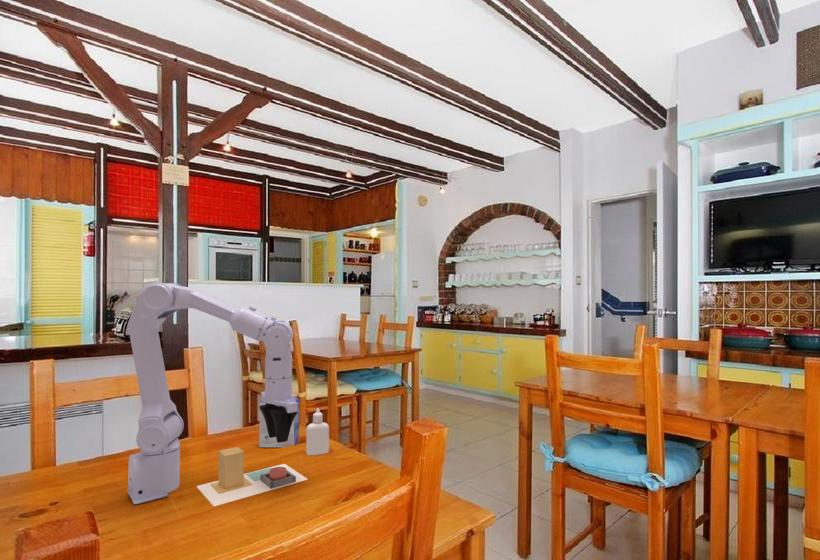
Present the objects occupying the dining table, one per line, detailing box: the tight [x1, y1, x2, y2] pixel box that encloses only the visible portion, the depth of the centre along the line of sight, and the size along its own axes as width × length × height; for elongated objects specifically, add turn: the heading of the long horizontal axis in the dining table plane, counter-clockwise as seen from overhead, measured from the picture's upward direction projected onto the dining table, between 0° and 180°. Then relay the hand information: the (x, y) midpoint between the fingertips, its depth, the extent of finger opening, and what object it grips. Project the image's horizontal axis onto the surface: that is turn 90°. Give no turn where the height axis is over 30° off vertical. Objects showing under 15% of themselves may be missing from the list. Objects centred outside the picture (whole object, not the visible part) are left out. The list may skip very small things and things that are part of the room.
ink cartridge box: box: [258, 398, 300, 449], centre depth 128 cm, size 10×6×14 cm, turn 89°
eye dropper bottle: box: [305, 407, 330, 456], centre depth 120 cm, size 4×6×12 cm
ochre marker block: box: [218, 446, 245, 490], centre depth 100 cm, size 4×4×7 cm
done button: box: [269, 467, 287, 481], centre depth 102 cm, size 4×4×2 cm
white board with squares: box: [196, 463, 308, 507], centre depth 101 cm, size 20×12×2 cm, turn 130°
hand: (278, 439), depth 102 cm, fingers open, 4 cm apart
